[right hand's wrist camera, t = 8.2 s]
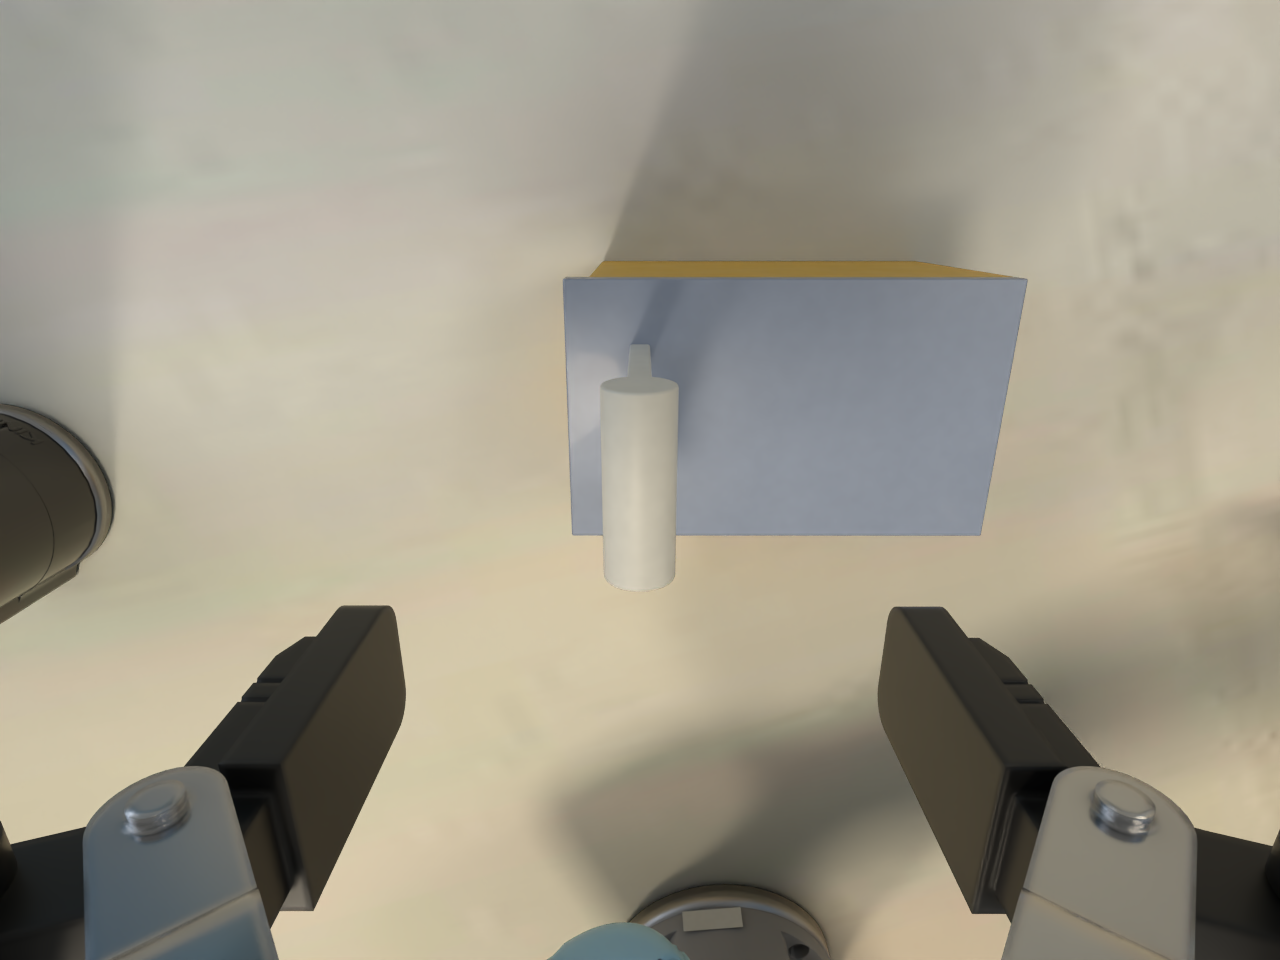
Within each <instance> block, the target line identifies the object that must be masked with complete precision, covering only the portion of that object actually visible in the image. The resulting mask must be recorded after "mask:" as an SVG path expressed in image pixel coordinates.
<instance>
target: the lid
mask: <svg viewBox="0 0 1280 960" xmlns="http://www.w3.org/2000/svg"><path fill="white" fill-rule="evenodd" d="M1026 286H1027V279H1024V278H1017V277H566V278H564V279H563V297H564V325H565V352H566V379H567V406H568V433H569V460H570V487H571V515H572V535H603V562H604V577H605V579H606V581H607V582H608V583H609V584H611V585H612V586H614V587H616V588H619V589H622V590H626V591H633V592H646V591H653V590H657V589H660V588H663V587H665V586H667V585H668V584H670V583H671V582H672V580H673V579H674V577H675V555H676V535H886V536H980V535H981V529H982V524H983V518H984V513H985V508H986V502H987V497H988V491H989V486H990V481H991V475H992V470H993V464H994V459H995V454H996V448H997V443H998V437H999V432H1000V427H1001V421H1002V416H1003V410H1004V405H1005V400H1006V394H1007V389H1008V383H1009V378H1010V373H1011V367H1012V362H1013V356H1014V351H1015V346H1016V340H1017V335H1018V329H1019V324H1020V319H1021V313H1022V308H1023V302H1024V297H1025V292H1026Z"/></svg>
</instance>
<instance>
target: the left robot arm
mask: <svg viewBox="0 0 1280 960" xmlns="http://www.w3.org/2000/svg"><path fill="white" fill-rule="evenodd" d="M547 960H831V959H830V955H829V952H828V948H827V944H826V940H825V938H824V935H823V933H822V931H821V929H820V927H819V926H818V925H817V923H816V922H815V921H814V919H813V918H812V917H811V916H810V915H809V914H808V913H807V912H806V911H804V910H803V909H802V908H801V907H799V906H798V905H796V904H795V903H793V902H792V901H790V900H788V899H786V898H784V897H782V896H780V895H778V894H775V893H772V892H769V891H766V890H762V889H758V888H754V887H748V886H740V885H710V886H701V887H696V888H691V889H687V890H683V891H680V892H677V893H674V894H671V895H669V896H667V897H664V898H662V899H660V900H658V901H656V902H654V903H653V904H651V905H650V906H648V907H647V908H645V909H644V910H642V911H641V912H640V913H639V914H637V915H636V916H635V917H634V918H633V919H632V920H631V921H630V923H612V924H606V925H602V926H599V927H596V928H593V929H590V930H588V931H585V932H583V933H581V934H580V935H578V936H576V937H574V938H572V939H571V940H569V941H567V942H566V943H564V945H562V946H561V948H560V949H559V950H558V951H557V952H556V953H555V954H554V955H553V956H552V957H550V958H549V959H547Z"/></svg>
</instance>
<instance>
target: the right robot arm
mask: <svg viewBox="0 0 1280 960" xmlns="http://www.w3.org/2000/svg"><path fill="white" fill-rule="evenodd" d="M111 516H112V506H111V498H110V493H109V489H108V486H107V483H106V480H105V478H104V476H103V474H102V472H101V470H100V468H99V466H98V465H97V463H96V461H95V460H94V459H93V457H92V456H91V455H90V453H89V452H88V451H87V450H86V449H85V447H84V446H83V445H82V444H81V443H80V442H79V441H78V440H77V439H76V438H75V437H73V436H72V435H71V434H70V433H69V432H68V431H66V430H65V429H63V428H62V427H61V426H59V425H58V424H56V423H55V422H53V421H51V420H49V419H48V418H46V417H44V416H42V415H39V414H37V413H35V412H32V411H30V410H27V409H24V408H20V407H16V406H11V405H6V404H0V624H1V623H3V622H4V621H6V620H7V619H9V618H11V617H12V616H14V615H15V614H17V613H19V612H20V611H22V610H23V609H25V608H26V607H28V606H30V605H31V604H33V603H34V602H36V601H37V600H39V599H41V598H42V597H44V596H45V595H47V594H48V593H50V592H52V591H53V590H55V589H56V588H58V587H59V586H61V585H63V584H64V583H66V582H67V581H69V580H70V579H72V578H74V577H75V576H76V569H77V565H78V563H79V562H81V561H82V560H84V559H86V558H87V557H89V556H90V555H91V554H93V553H94V552H95V551H96V550H97V549H98V548H99V546H100V545H101V544H102V542H103V541H104V539H105V537H106V535H107V533H108V530H109V527H110V523H111ZM405 701H406V687H405V679H404V672H403V665H402V658H401V650H400V643H399V636H398V629H397V622H396V616H395V613H394V611H393V609H392V607H390V606H341V607H339V608H338V609H337V611H336V612H335V613H334V614H333V616H332V617H331V618H330V620H329V621H328V622H327V623H326V625H325V626H324V627H323V629H322V630H321V631H320V633H319V634H318V635H317V636H316V637H304V638H302V639H301V640H299V641H298V642H296V643H295V644H293V645H292V646H290V647H289V648H287V649H286V650H284V651H283V652H281V653H280V654H278V655H277V656H275V658H274V659H273V660H272V661H271V662H270V664H269V665H268V666H267V667H266V668H265V670H264V671H263V672H262V673H261V674H260V676H259V677H258V678H257V683H253V684H252V685H251V687H250V688H249V689H248V690H247V691H246V693H245V694H244V695H243V696H242V700H241V702H237V703H236V705H235V706H234V707H233V708H232V709H231V711H230V712H229V713H228V714H227V715H226V717H225V718H224V719H223V720H222V721H221V723H220V724H219V725H218V726H217V727H216V729H215V730H214V731H213V732H212V733H211V735H210V736H209V737H208V738H207V740H206V741H205V742H204V743H203V744H202V746H201V747H200V748H199V749H198V750H197V752H196V753H195V754H194V755H193V756H192V758H191V759H190V760H189V761H188V762H187V764H186V765H185V766H184V767H179V768H174V769H170V770H165V771H162V772H159V773H156V774H153V775H151V776H148V777H146V778H144V779H141V780H139V781H138V782H136V783H134V784H132V785H130V786H128V787H127V788H125V789H123V790H122V791H120V792H119V793H117V794H116V795H115V796H113V797H112V798H111V799H109V800H108V801H107V802H106V803H105V804H104V805H103V806H102V807H101V808H99V810H98V811H97V812H96V813H95V814H94V815H93V817H92V818H91V820H90V821H89V823H88V824H87V826H86V827H83V828H79V829H75V830H70V831H66V832H62V833H58V834H53V835H49V836H45V837H40V838H36V839H32V840H27V841H23V842H19V843H15V844H10V843H9V840H8V838H7V835H6V833H5V831H4V828H3V826H2V823H1V821H0V960H279V959H278V955H277V952H276V948H275V945H274V941H273V938H272V934H271V931H270V929H271V927H272V925H273V923H274V921H275V919H276V917H277V915H278V913H279V911H314V908H315V906H316V904H317V902H318V900H319V898H320V896H321V894H322V891H323V889H324V887H325V885H326V883H327V881H328V879H329V877H330V874H331V872H332V870H333V868H334V866H335V864H336V862H337V860H338V857H339V855H340V853H341V851H342V849H343V847H344V845H345V843H346V840H347V838H348V836H349V834H350V832H351V830H352V828H353V826H354V824H355V821H356V819H357V817H358V815H359V813H360V811H361V809H362V807H363V804H364V802H365V800H366V798H367V796H368V794H369V792H370V790H371V787H372V785H373V783H374V781H375V779H376V777H377V775H378V773H379V770H380V768H381V766H382V764H383V762H384V760H385V758H386V756H387V753H388V751H389V749H390V747H391V745H392V743H393V741H394V739H395V736H396V734H397V732H398V730H399V728H400V725H401V722H402V719H403V715H404V710H405ZM878 707H879V713H880V718H881V722H882V725H883V728H884V730H885V732H886V734H887V736H888V739H889V741H890V743H891V745H892V747H893V749H894V751H895V753H896V755H897V757H898V760H899V762H900V764H901V766H902V768H903V770H904V772H905V774H906V776H907V778H908V781H909V783H910V785H911V787H912V789H913V791H914V793H915V795H916V797H917V799H918V801H919V804H920V806H921V808H922V810H923V812H924V814H925V816H926V818H927V820H928V822H929V825H930V827H931V829H932V831H933V833H934V835H935V837H936V839H937V841H938V843H939V846H940V848H941V850H942V852H943V854H944V856H945V858H946V860H947V862H948V864H949V866H950V869H951V871H952V873H953V875H954V877H955V879H956V881H957V883H958V885H959V887H960V890H961V892H962V894H963V896H964V898H965V900H966V902H967V904H968V906H969V908H970V911H971V913H972V914H1006V915H1007V917H1008V918H1009V920H1010V922H1011V927H1010V931H1009V934H1008V938H1007V941H1006V945H1005V948H1004V952H1003V955H1002V959H1001V960H1280V830H1279V833H1278V835H1277V838H1276V840H1275V842H1274V845H1273V846H1269V845H1265V844H1260V843H1256V842H1252V841H1248V840H1243V839H1239V838H1235V837H1230V836H1226V835H1222V834H1217V833H1213V832H1209V831H1205V830H1201V829H1197V828H1194V826H1193V824H1192V823H1191V821H1190V820H1189V818H1188V817H1187V815H1186V814H1185V813H1184V812H1183V811H1182V810H1181V808H1179V807H1178V806H1177V805H1176V804H1175V803H1174V802H1173V801H1172V800H1171V799H1169V798H1168V797H1167V796H1165V795H1164V794H1163V793H1161V792H1160V791H1158V790H1157V789H1155V788H1153V787H1152V786H1150V785H1148V784H1146V783H1144V782H1142V781H1141V780H1139V779H1136V778H1134V777H1132V776H1129V775H1127V774H1124V773H1121V772H1118V771H1115V770H1110V769H1106V768H1101V767H1100V766H1099V765H1098V763H1097V762H1096V761H1095V760H1094V759H1093V757H1092V756H1091V755H1090V754H1089V753H1088V752H1087V750H1086V749H1085V748H1084V747H1083V746H1082V744H1081V743H1080V742H1079V741H1078V740H1077V738H1076V737H1075V736H1074V735H1073V734H1072V732H1071V731H1070V730H1069V729H1068V728H1067V726H1066V725H1065V724H1064V723H1063V722H1062V720H1061V719H1060V718H1059V717H1058V716H1057V715H1056V713H1055V712H1054V711H1053V710H1052V709H1051V707H1050V706H1049V705H1048V704H1044V702H1043V698H1042V697H1041V695H1040V694H1039V693H1038V692H1037V691H1036V689H1035V688H1034V687H1033V686H1032V685H1028V682H1027V679H1026V678H1025V676H1024V675H1023V674H1022V673H1021V672H1020V670H1019V669H1018V668H1017V667H1016V666H1015V664H1014V663H1013V662H1012V661H1011V660H1010V658H1009V657H1007V656H1006V655H1004V654H1003V653H1001V652H1000V651H998V650H997V649H995V648H994V647H992V646H991V645H989V644H987V643H986V642H984V641H983V640H981V639H980V638H968V637H967V636H966V635H965V633H964V632H963V631H962V630H961V628H960V627H959V626H958V624H957V623H956V622H955V621H954V619H953V618H952V617H951V615H950V614H949V613H948V612H947V611H946V609H944V608H943V607H894V608H892V610H891V611H890V614H889V617H888V621H887V628H886V635H885V642H884V649H883V656H882V663H881V671H880V678H879V685H878Z"/></svg>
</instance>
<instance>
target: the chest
mask: <svg viewBox="0 0 1280 960" xmlns="http://www.w3.org/2000/svg"><path fill="white" fill-rule="evenodd" d="M590 277H1011V276H1005V275H998V274H992V273H986V272H980V271H973V270H967V269H961V268H955V267H948V266H942V265H936V264H929V263H923V262H916V261H604V262H602V263H601V264H600V265H599V266H598V268H597V269H596V270H595V271H594V272H593V273H592V274H591V276H590Z"/></svg>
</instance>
